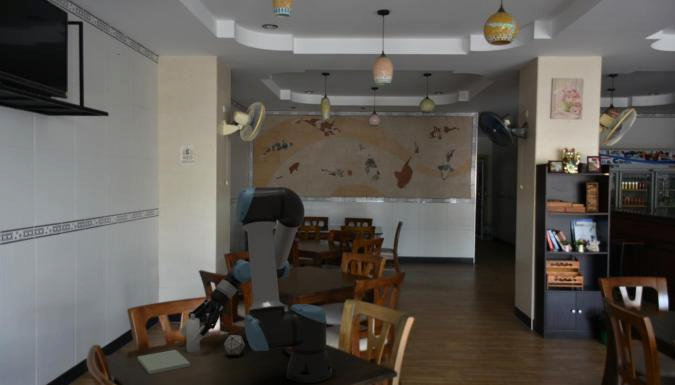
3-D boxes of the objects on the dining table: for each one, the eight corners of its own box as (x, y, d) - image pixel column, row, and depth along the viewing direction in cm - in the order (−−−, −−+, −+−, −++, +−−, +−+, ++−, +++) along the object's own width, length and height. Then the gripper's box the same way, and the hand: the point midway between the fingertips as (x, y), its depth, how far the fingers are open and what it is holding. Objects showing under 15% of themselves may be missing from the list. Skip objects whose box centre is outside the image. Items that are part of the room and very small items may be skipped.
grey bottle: (201, 350, 202) (201, 314, 202) (188, 353, 200) (188, 316, 199) (197, 347, 207) (196, 312, 206) (185, 349, 204) (184, 314, 204)
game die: (235, 367, 195) (229, 350, 188) (221, 354, 199) (214, 338, 193) (253, 350, 200) (248, 334, 193) (238, 339, 204) (233, 323, 198)
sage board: (190, 366, 185) (189, 362, 185) (149, 374, 178) (149, 370, 178) (175, 352, 200) (175, 349, 200) (137, 359, 193) (137, 356, 193)
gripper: (243, 304, 203) (207, 351, 194) (216, 294, 222) (182, 336, 213) (230, 292, 199) (193, 339, 190) (203, 283, 219) (169, 325, 210)
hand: (187, 337), depth 202 cm, fingers open, 13 cm apart
